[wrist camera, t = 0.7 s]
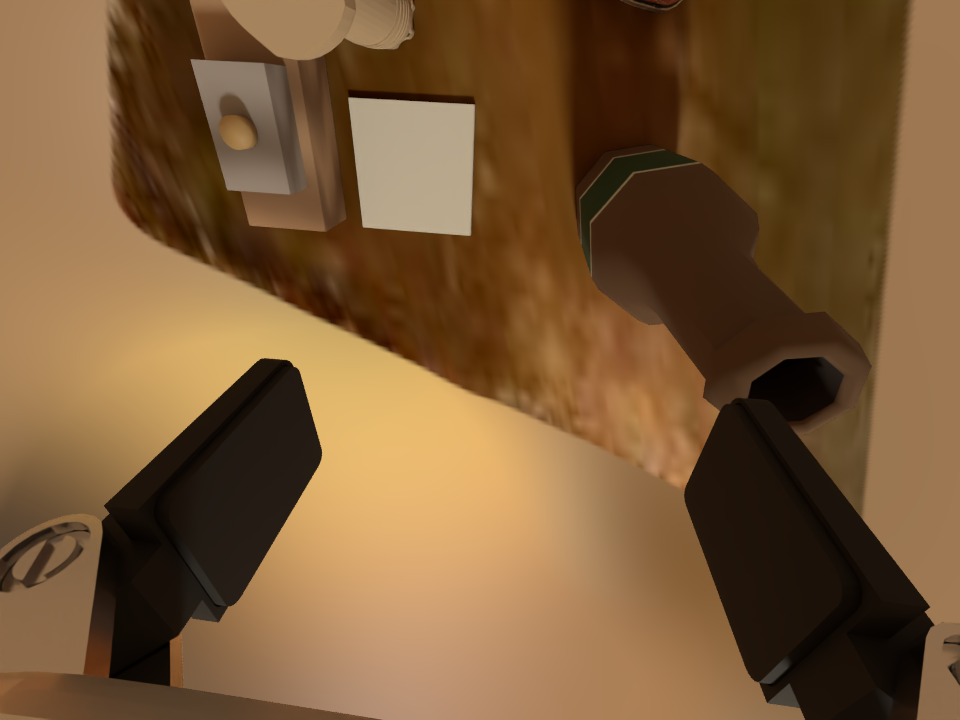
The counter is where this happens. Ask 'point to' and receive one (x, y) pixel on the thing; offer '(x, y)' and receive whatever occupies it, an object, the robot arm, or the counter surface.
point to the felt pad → (414, 164)
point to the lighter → (654, 4)
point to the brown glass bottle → (711, 286)
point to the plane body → (269, 125)
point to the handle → (323, 24)
